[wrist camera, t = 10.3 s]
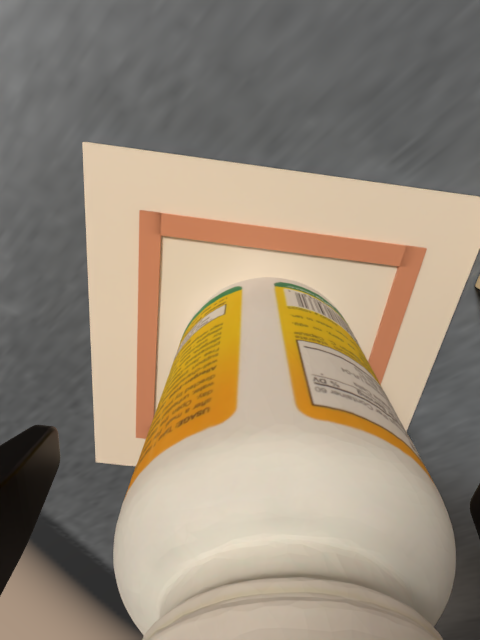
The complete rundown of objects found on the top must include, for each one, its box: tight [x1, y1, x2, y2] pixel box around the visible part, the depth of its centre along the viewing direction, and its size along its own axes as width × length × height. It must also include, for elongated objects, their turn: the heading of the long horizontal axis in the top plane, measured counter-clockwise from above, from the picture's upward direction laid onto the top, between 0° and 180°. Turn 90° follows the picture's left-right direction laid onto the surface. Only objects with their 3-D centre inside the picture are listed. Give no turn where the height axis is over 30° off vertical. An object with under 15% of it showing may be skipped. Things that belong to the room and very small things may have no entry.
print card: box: [82, 142, 480, 466], centre depth 12 cm, size 11×11×1 cm
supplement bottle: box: [113, 277, 456, 640], centre depth 8 cm, size 5×5×10 cm
